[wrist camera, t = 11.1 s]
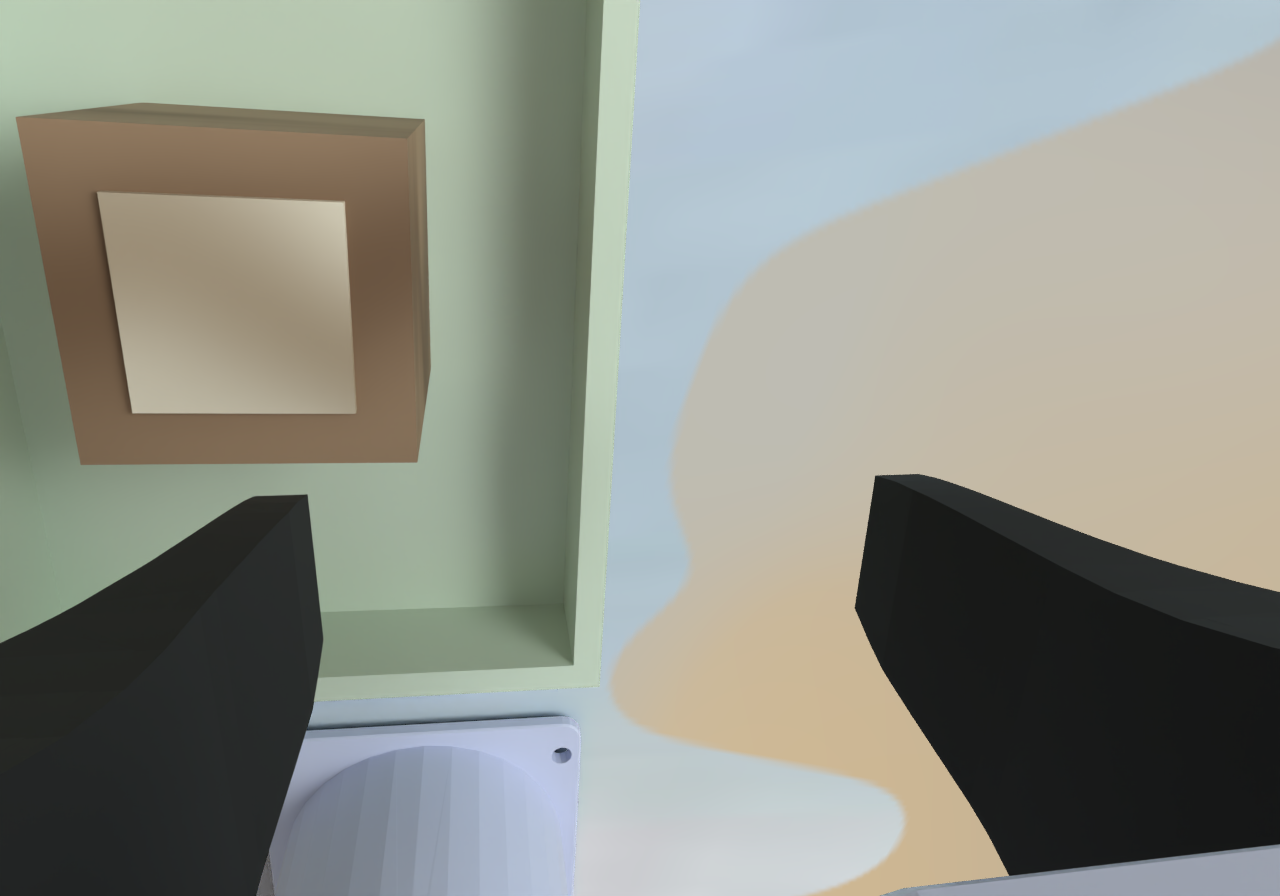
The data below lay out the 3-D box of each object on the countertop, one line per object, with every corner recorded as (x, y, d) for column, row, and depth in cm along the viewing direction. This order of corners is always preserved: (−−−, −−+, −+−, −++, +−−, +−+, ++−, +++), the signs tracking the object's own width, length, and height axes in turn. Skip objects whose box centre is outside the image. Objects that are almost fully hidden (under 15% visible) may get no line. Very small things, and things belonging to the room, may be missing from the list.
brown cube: (431, 368, 19) (416, 466, 15) (178, 365, 18) (76, 468, 14) (424, 119, 17) (406, 139, 13) (142, 102, 16) (9, 116, 12)
